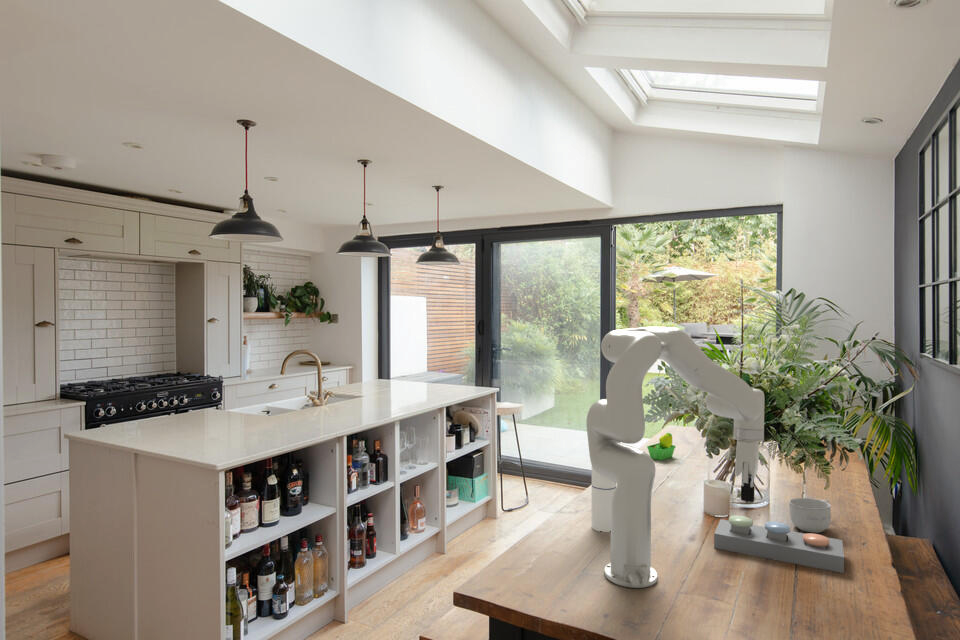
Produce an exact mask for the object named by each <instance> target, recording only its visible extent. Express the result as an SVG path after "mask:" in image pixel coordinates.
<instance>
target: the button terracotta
mask: <svg viewBox="0 0 960 640" xmlns="http://www.w3.org/2000/svg"><path fill="white" fill-rule="evenodd" d="M828 538H829V537H828V536H825V535H822V534H819V533H813V532H807V533H804V535H803V541H804V542H806V545H807V546H813V547H819V548H824V549H826V546H828V545H829V539H828Z"/></svg>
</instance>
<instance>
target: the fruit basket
mask: <svg viewBox="0 0 960 640" xmlns="http://www.w3.org/2000/svg"><path fill="white" fill-rule="evenodd" d="M658 441H659V443H656V444H655V443H654V444H651V445H646V448H647V450H648V455H649V456H650V457H651V458H652V460H658V461H663V460H667V459H669V458H673V455H674V452H675V449H676V445H673V434H671V432H666V433H665V434H664V435H662V436H661V437H659V439H658Z"/></svg>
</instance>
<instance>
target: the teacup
mask: <svg viewBox="0 0 960 640" xmlns="http://www.w3.org/2000/svg"><path fill="white" fill-rule="evenodd" d="M788 503H789V516H790V521H791V522H792V524H793V525H794V526H796V528H798V529H799V530H800V531H802V532H807V533H813V534H819V533H822V532H824V531H826V530H828V528H829V527H831V523H832V514H831V508H832V507H831V506H832V504H830V502H829V501H828V500H827V499H817V498H812V497H797V498H796V497H794V498H791V499H789V500H788Z"/></svg>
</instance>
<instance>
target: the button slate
mask: <svg viewBox="0 0 960 640" xmlns="http://www.w3.org/2000/svg"><path fill="white" fill-rule="evenodd" d="M764 527H765V529H766V530H768V539H774V540H780V541H785V542H787V533H789V532H790V531H791V527H790V525H788V524H786V523H783V522H779V521H766V522H764Z"/></svg>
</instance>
